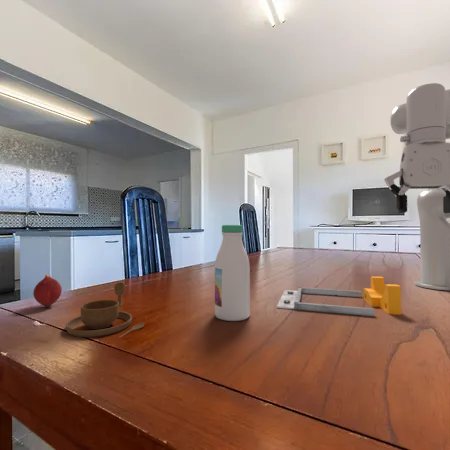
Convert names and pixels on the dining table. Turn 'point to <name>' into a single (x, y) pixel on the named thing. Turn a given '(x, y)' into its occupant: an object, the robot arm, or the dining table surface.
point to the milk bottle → (232, 276)
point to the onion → (47, 291)
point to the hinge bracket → (292, 301)
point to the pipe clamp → (383, 296)
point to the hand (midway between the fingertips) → (425, 212)
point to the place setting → (102, 317)
